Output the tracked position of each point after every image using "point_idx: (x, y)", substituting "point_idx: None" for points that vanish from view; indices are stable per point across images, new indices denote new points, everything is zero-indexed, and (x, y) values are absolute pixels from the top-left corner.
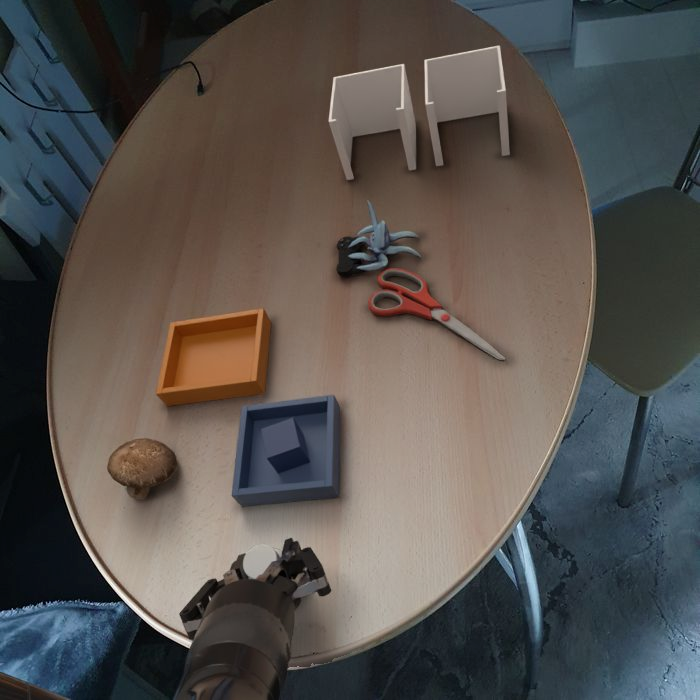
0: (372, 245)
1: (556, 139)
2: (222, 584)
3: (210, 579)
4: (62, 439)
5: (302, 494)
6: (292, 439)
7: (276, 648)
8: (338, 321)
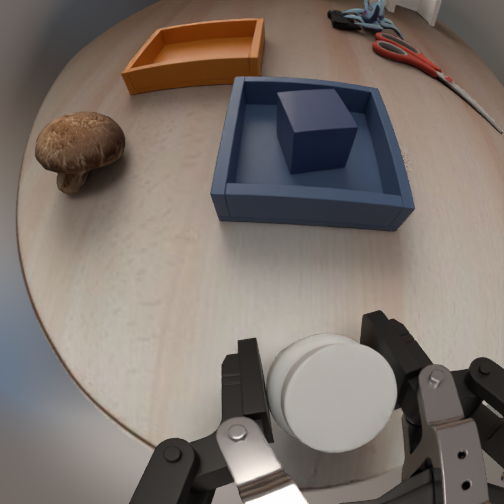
0: (369, 13)
1: (455, 34)
2: (216, 469)
3: (171, 447)
4: (31, 136)
5: (349, 214)
6: (341, 114)
7: None
8: (342, 49)
